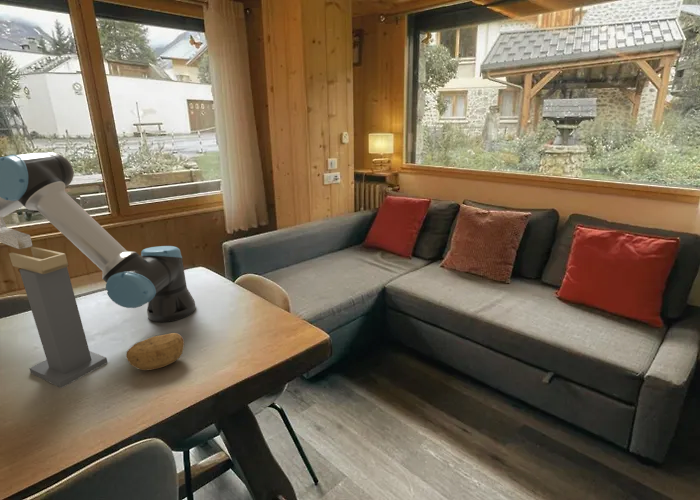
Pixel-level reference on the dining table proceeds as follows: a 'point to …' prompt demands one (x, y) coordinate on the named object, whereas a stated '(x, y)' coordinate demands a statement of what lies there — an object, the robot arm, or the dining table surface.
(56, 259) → the stand
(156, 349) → the potato
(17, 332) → the dining table surface
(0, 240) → the rail
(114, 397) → the dining table surface
